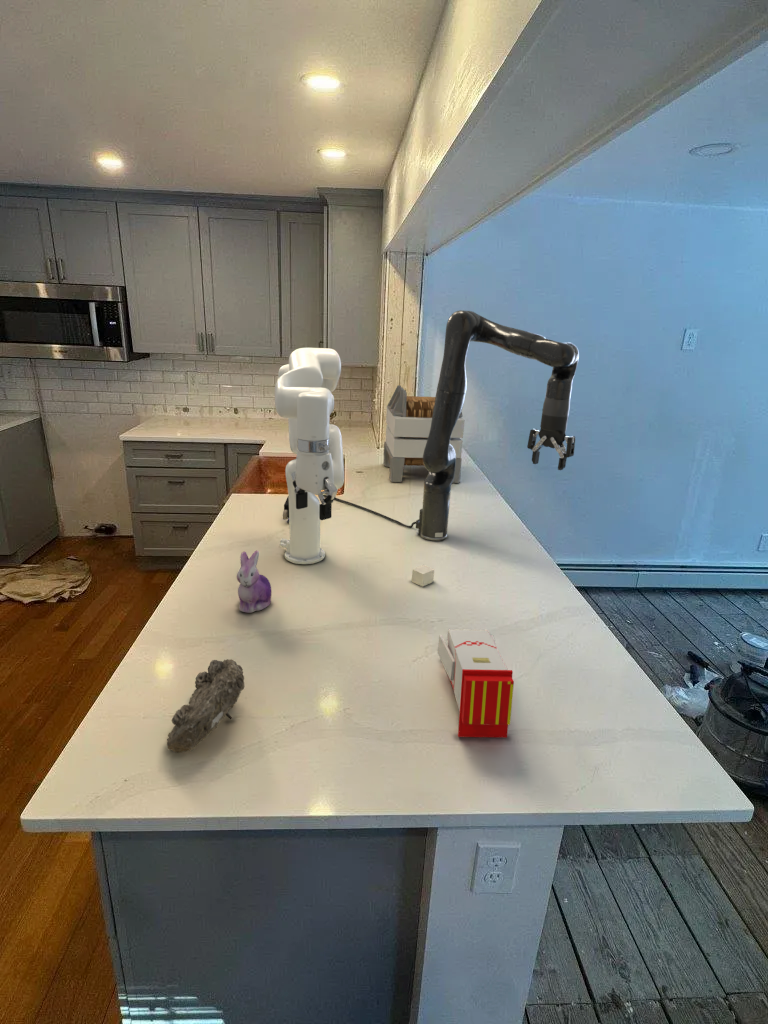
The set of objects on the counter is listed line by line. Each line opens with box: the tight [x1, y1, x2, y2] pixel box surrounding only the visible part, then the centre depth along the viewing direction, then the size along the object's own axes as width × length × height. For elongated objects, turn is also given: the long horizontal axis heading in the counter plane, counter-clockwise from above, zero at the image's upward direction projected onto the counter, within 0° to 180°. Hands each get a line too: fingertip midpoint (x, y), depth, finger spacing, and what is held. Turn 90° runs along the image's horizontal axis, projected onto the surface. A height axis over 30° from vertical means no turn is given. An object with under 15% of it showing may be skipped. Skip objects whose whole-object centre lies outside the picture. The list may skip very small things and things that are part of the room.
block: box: [411, 564, 435, 588], centre depth 165 cm, size 4×5×4 cm
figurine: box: [236, 550, 272, 614], centre depth 146 cm, size 9×10×15 cm
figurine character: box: [282, 495, 289, 524], centre depth 208 cm, size 7×8×15 cm
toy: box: [437, 628, 515, 738], centre depth 117 cm, size 12×13×30 cm
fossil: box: [166, 658, 245, 754], centre depth 106 cm, size 22×10×15 cm
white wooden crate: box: [383, 384, 465, 484], centre depth 268 cm, size 34×33×41 cm
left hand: (313, 513), depth 140 cm, fingers open, 9 cm apart
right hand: (547, 466), depth 172 cm, fingers open, 8 cm apart
